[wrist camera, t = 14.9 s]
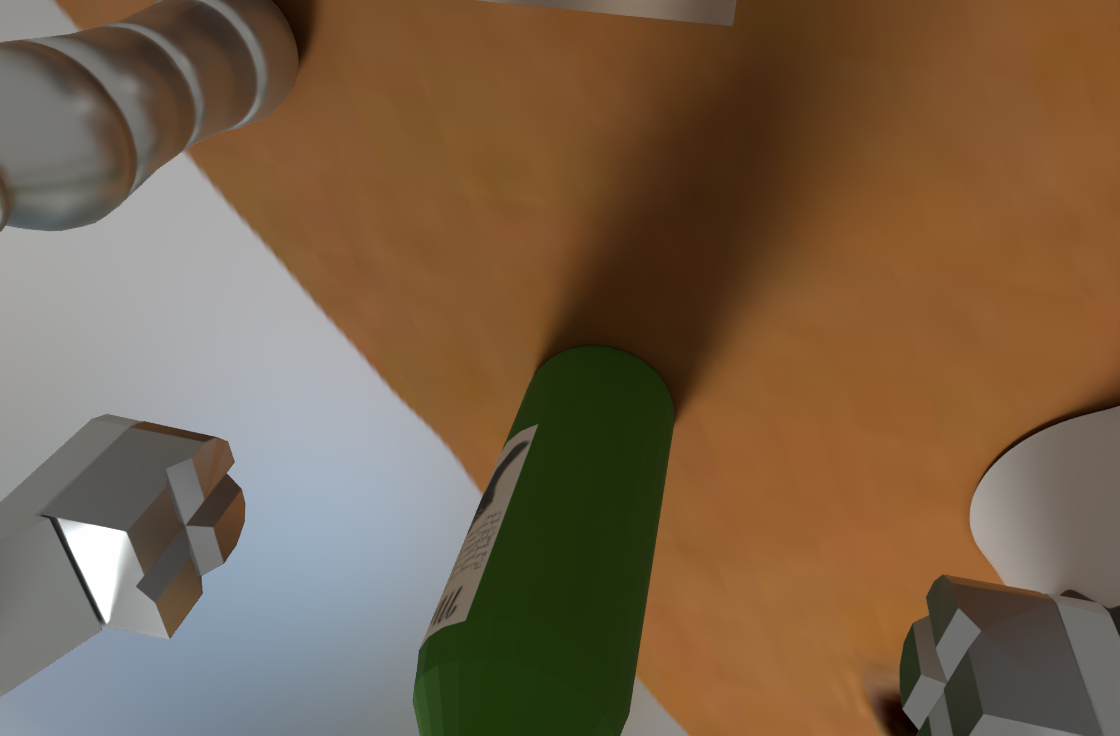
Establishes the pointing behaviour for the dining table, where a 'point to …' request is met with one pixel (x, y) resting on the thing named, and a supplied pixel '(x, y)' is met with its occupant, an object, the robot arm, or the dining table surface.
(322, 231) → the dining table surface
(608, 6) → the block
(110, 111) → the plastic bottle
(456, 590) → the wine bottle
